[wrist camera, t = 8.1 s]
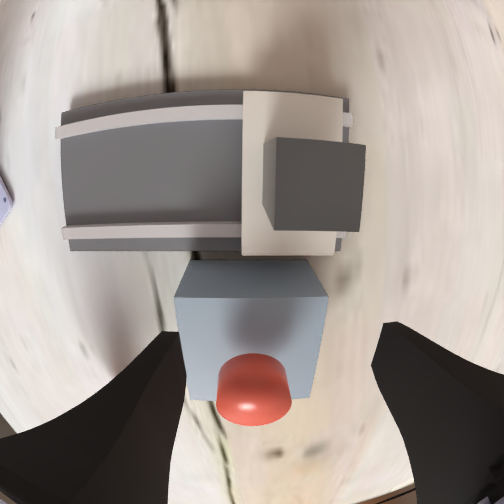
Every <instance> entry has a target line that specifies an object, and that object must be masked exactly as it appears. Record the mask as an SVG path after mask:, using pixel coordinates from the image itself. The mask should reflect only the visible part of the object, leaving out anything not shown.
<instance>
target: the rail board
mask: <svg viewBox="0 0 504 504" xmlns="http://www.w3.org/2000/svg"><path fill="white" fill-rule="evenodd" d="M243 91H268V92H286V93H298V94H309V95H318V96H326V97H333V98H340V99H343V137H342V142H344V143H348V136H349V127H352V126H353V114H352V113H349V99H347V98H341V97H334V96H327V95H319V94H310V93H300V92H288V91H272V90H201V91H185V92H173V93H163V94H154V95H146V96H139V97H133V98H126V99H120V100H115V101H110V102H105V103H100V104H95V105H90V106H86V107H82V108H78V109H74V110H70V111H66V112H63V113H62V114H61V126H59V127H55V139H61V172H62V188H63V200H64V209H65V218H66V225H67V226H65V227H63V228H61V229H62V235H63V239H69V245H70V251H242V247H241V230H242V129H243ZM342 238H346V232H341V231H337V233H336V243H335V251H340V249H341V240H342Z"/></svg>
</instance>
